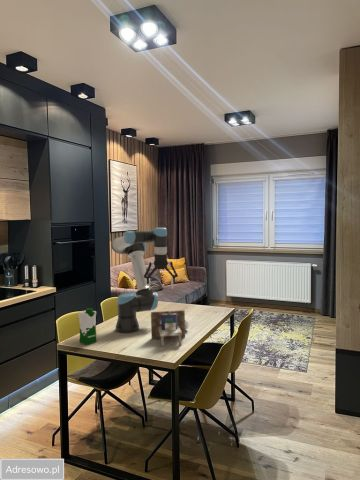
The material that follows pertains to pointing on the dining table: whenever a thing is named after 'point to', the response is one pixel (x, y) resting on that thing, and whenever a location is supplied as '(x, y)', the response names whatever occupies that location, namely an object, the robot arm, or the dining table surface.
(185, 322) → the pretzel
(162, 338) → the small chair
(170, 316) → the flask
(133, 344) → the dining table surface
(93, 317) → the milk carton
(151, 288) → the robot arm
